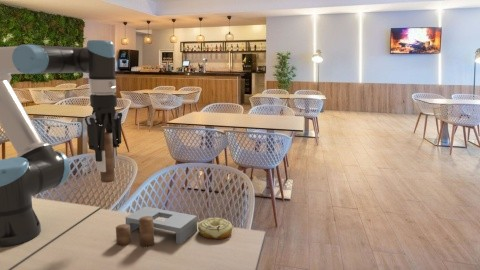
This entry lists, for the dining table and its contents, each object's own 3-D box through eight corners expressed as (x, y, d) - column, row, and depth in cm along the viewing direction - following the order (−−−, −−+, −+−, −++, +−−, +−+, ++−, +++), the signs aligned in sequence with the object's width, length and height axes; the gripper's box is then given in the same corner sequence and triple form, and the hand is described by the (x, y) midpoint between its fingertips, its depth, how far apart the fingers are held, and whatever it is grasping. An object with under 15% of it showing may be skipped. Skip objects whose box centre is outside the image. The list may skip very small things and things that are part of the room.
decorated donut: (218, 244, 112) (218, 232, 111) (191, 235, 118) (191, 223, 117) (238, 231, 120) (238, 220, 119) (212, 223, 126) (212, 213, 125)
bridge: (126, 232, 119) (125, 217, 118) (145, 220, 128) (145, 206, 127) (180, 244, 111) (180, 228, 110) (197, 230, 120) (196, 215, 119)
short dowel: (113, 244, 111) (112, 228, 110) (122, 238, 114) (122, 223, 114) (124, 246, 109) (123, 230, 108) (133, 241, 113) (132, 225, 112)
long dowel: (98, 181, 116) (95, 133, 113) (107, 177, 119) (104, 131, 117) (108, 183, 114) (105, 134, 111) (117, 179, 118) (115, 132, 115)
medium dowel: (137, 245, 110) (136, 220, 108) (145, 240, 114) (144, 215, 112) (148, 248, 108) (147, 222, 107) (156, 242, 112) (155, 217, 111)
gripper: (91, 96, 103) (96, 178, 107) (132, 92, 118) (134, 164, 122) (71, 95, 105) (76, 175, 110) (113, 91, 121) (116, 161, 125)
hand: (107, 169), depth 116 cm, fingers closed on long dowel, 4 cm apart
